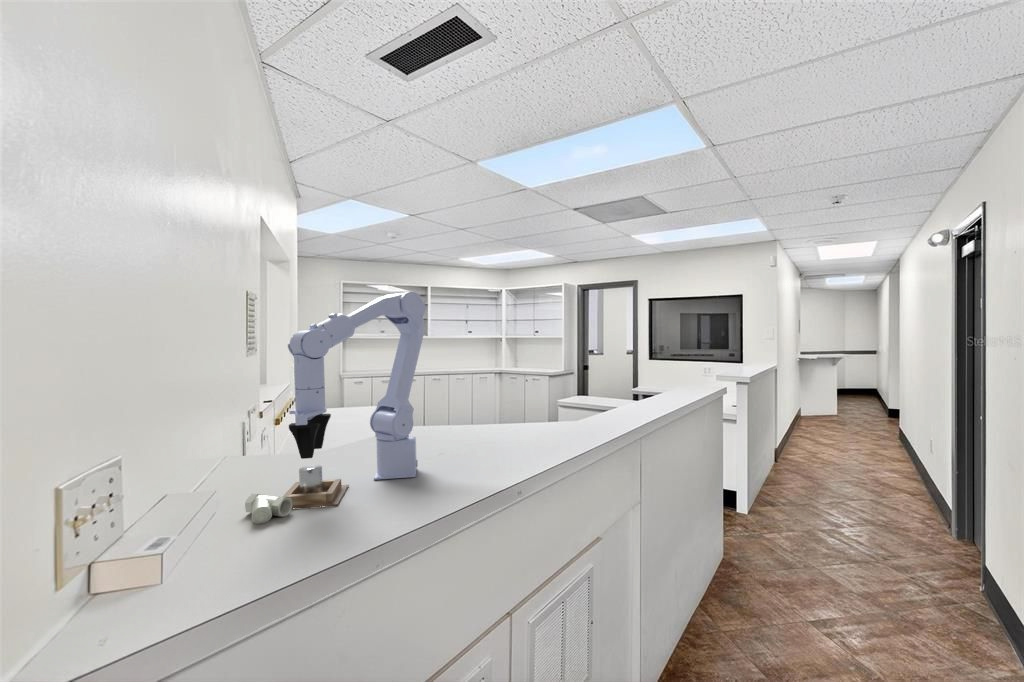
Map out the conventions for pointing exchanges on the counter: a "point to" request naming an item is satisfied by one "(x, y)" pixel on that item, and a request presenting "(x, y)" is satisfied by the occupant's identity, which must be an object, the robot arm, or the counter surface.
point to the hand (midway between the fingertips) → (311, 453)
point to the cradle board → (317, 495)
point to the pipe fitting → (267, 507)
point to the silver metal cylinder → (311, 479)
